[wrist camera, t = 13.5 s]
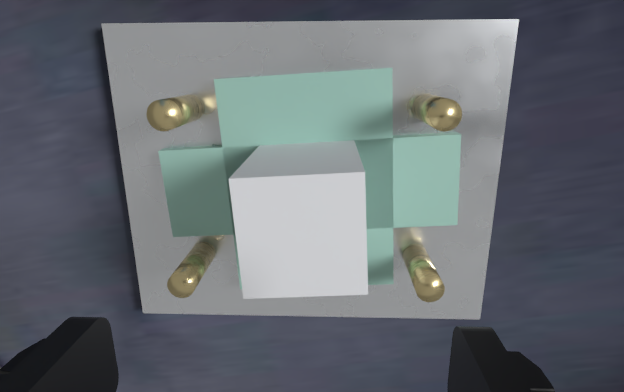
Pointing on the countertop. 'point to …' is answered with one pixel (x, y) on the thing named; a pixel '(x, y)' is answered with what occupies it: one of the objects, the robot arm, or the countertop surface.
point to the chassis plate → (296, 60)
